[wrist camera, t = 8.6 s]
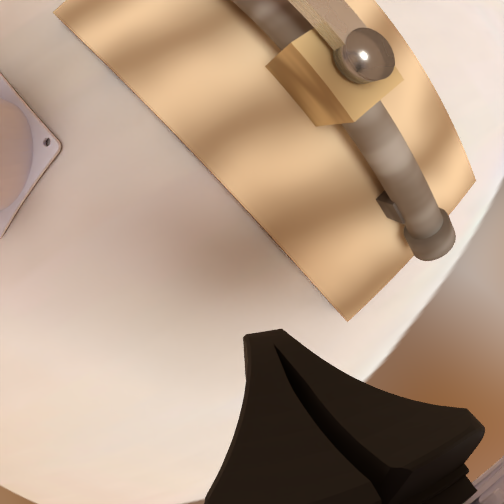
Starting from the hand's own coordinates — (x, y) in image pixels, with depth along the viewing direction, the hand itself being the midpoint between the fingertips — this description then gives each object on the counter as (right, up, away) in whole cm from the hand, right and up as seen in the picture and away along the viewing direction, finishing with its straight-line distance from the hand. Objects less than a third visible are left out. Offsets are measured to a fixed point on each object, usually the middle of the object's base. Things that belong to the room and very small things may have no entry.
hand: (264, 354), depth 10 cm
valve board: (+3, +14, +6) cm, 15 cm away
